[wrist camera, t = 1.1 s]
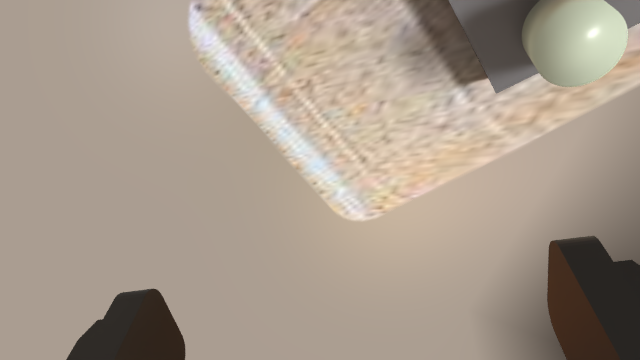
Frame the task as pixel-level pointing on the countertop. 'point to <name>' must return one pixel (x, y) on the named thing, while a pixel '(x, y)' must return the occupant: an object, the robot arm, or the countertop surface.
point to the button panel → (511, 35)
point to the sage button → (574, 40)
